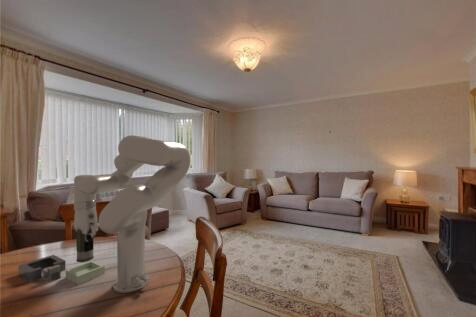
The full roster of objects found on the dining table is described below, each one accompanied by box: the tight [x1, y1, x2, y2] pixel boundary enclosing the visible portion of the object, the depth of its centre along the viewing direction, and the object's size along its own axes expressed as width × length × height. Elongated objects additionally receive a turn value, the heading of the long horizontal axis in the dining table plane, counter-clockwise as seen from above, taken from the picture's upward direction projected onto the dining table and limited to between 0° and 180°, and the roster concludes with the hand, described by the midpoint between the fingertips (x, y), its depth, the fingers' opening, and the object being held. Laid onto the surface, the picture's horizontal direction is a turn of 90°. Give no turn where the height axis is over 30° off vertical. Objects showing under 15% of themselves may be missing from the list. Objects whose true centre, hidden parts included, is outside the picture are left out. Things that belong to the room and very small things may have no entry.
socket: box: [18, 254, 66, 284], centre depth 97 cm, size 12×12×4 cm
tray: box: [65, 260, 106, 286], centre depth 94 cm, size 10×10×3 cm
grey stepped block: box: [42, 265, 62, 283], centre depth 92 cm, size 8×4×5 cm, turn 58°
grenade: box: [74, 227, 95, 263], centre depth 94 cm, size 6×6×15 cm
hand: (85, 248), depth 94 cm, fingers closed on grenade, 5 cm apart
